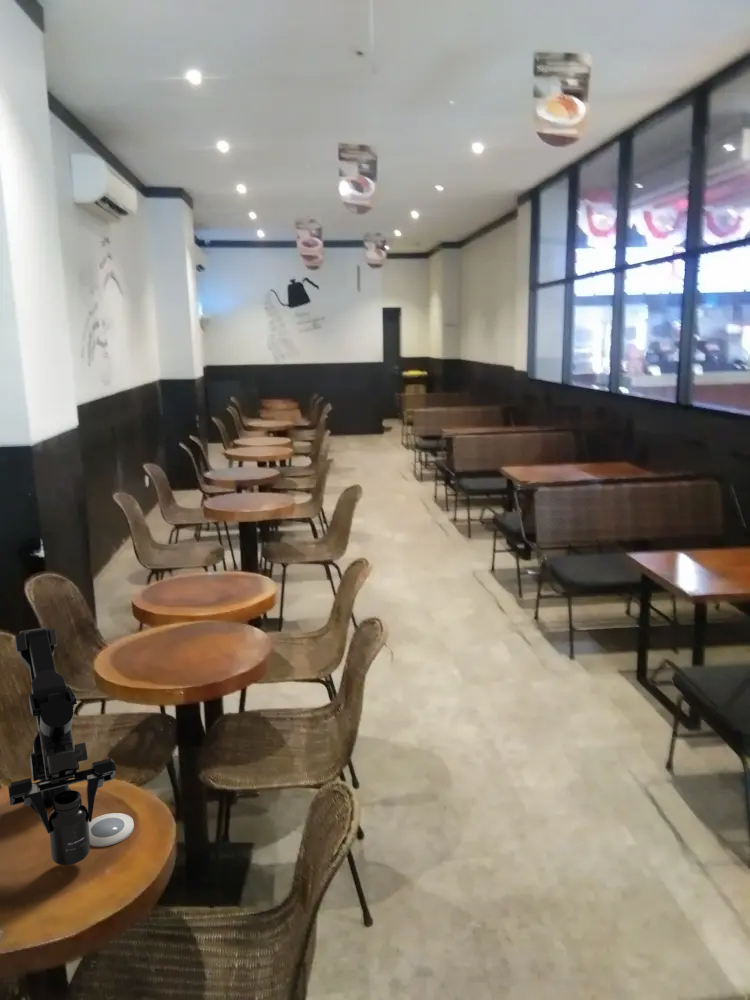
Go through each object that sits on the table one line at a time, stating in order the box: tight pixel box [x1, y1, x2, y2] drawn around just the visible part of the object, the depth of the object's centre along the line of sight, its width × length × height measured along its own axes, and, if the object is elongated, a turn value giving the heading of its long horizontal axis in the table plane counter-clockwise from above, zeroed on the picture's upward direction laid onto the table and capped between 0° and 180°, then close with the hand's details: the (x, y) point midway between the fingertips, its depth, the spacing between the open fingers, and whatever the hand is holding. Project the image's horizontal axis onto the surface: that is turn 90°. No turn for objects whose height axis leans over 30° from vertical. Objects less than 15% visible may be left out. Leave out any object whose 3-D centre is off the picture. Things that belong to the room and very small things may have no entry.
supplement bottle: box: [48, 789, 91, 866], centre depth 145 cm, size 7×7×12 cm
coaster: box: [88, 812, 135, 848], centre depth 157 cm, size 10×10×1 cm
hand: (70, 827), depth 144 cm, fingers closed on supplement bottle, 7 cm apart
